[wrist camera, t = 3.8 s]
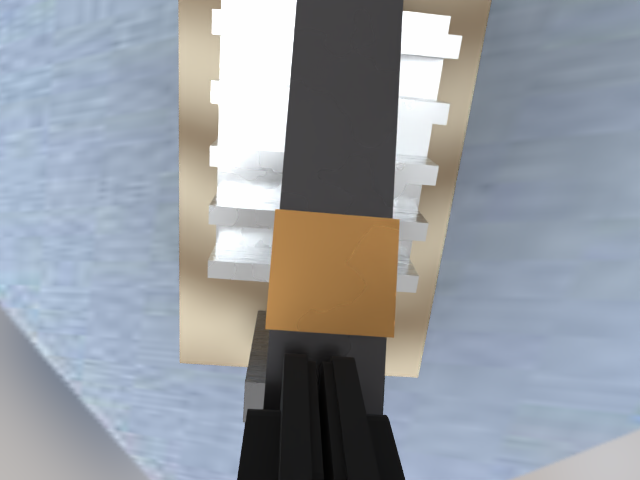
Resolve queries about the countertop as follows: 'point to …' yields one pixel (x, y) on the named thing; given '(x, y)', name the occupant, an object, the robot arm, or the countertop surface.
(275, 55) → the heat sink
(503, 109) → the countertop surface
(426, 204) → the board
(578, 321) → the countertop surface
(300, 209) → the strap
